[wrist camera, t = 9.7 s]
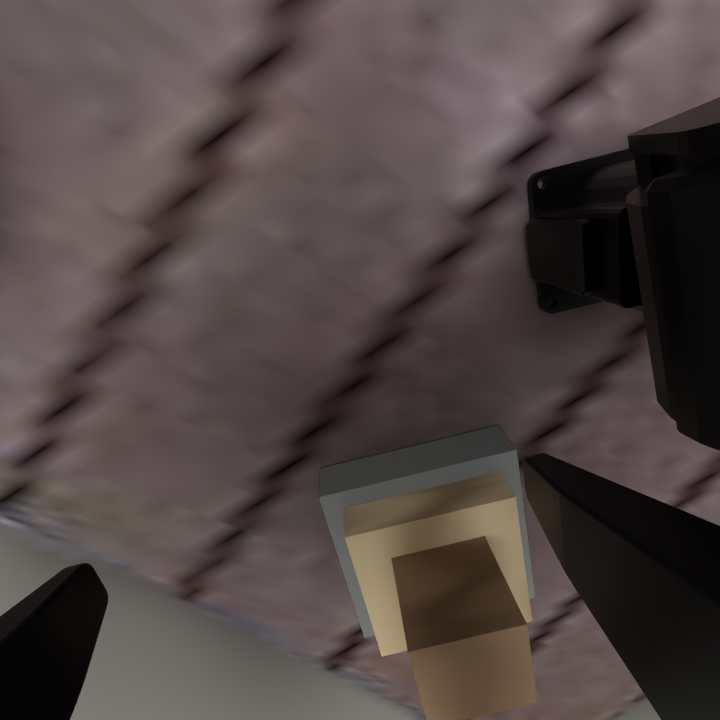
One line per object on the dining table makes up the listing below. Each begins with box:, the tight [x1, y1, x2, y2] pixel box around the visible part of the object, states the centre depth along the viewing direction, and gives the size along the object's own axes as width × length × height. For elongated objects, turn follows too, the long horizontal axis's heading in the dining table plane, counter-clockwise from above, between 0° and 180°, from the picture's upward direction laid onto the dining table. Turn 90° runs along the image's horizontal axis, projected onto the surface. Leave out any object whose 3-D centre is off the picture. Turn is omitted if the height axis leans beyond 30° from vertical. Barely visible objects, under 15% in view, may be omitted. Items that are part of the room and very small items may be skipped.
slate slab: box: [319, 425, 535, 638], centre depth 24 cm, size 10×10×2 cm
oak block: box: [343, 471, 532, 656], centre depth 21 cm, size 8×8×2 cm
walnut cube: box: [391, 536, 538, 720], centre depth 18 cm, size 4×4×4 cm
